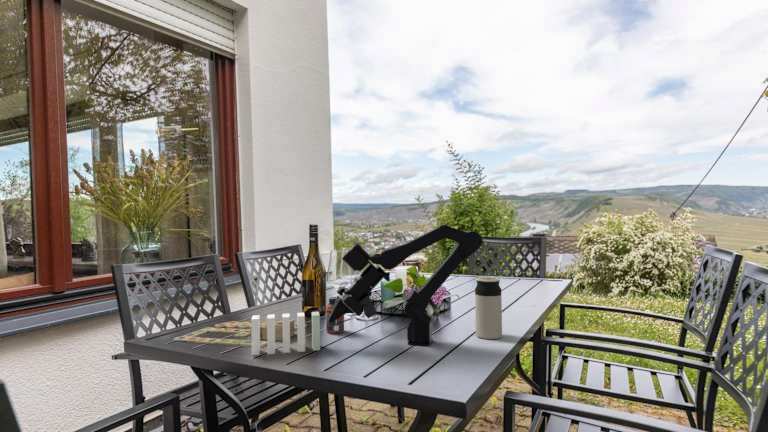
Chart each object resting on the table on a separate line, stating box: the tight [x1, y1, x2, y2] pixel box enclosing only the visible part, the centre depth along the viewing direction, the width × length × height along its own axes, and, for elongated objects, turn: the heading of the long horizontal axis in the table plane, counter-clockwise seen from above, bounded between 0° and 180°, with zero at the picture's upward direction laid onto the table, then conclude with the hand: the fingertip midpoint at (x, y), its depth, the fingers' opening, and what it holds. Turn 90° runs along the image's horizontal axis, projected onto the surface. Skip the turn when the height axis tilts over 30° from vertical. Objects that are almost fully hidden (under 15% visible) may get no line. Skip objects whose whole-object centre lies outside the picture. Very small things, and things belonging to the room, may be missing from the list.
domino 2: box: [266, 313, 276, 355], centre depth 127 cm, size 2×5×10 cm, turn 12°
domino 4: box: [296, 312, 306, 353], centre depth 129 cm, size 2×5×10 cm, turn 12°
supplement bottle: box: [325, 296, 345, 335], centre depth 147 cm, size 6×6×11 cm
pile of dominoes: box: [172, 318, 307, 349], centre depth 148 cm, size 35×27×6 cm
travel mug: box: [474, 276, 503, 340], centre depth 139 cm, size 8×8×18 cm
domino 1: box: [250, 314, 261, 356], centre depth 126 cm, size 2×5×10 cm, turn 12°
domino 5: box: [311, 311, 321, 352], centre depth 130 cm, size 2×5×10 cm, turn 12°
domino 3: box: [281, 313, 291, 354], centre depth 128 cm, size 2×5×10 cm, turn 12°
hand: (329, 321), depth 130 cm, fingers closed
